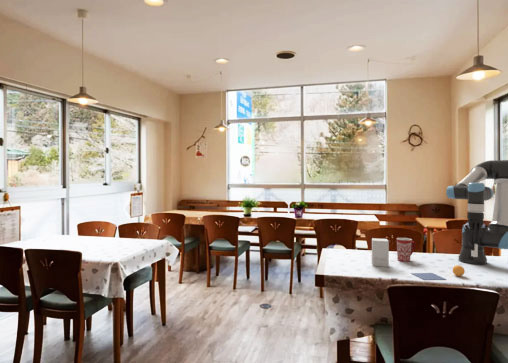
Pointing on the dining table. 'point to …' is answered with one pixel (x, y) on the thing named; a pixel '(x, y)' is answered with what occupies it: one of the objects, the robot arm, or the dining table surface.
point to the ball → (458, 270)
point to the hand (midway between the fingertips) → (474, 256)
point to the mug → (404, 249)
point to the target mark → (428, 276)
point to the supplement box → (380, 252)
